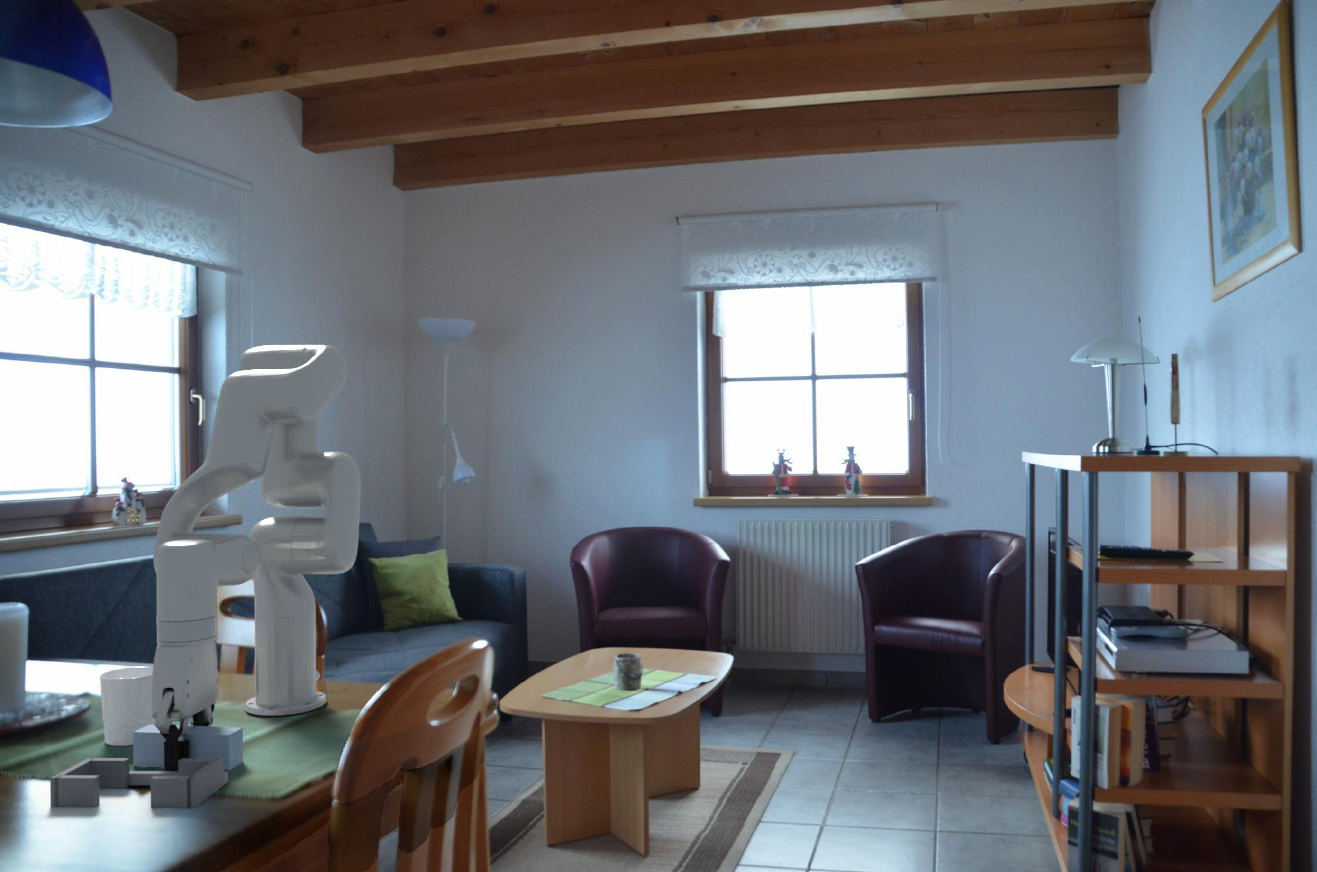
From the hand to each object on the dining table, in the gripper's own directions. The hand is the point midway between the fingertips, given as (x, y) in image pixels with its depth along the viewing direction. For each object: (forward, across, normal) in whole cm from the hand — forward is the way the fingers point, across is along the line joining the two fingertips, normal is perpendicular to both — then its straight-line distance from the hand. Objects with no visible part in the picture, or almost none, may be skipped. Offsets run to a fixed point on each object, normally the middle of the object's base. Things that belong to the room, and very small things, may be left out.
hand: (188, 760), depth 137 cm
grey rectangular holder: (0, +12, 0) cm, 12 cm away
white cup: (+1, -11, -14) cm, 18 cm away
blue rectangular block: (+1, 0, 0) cm, 1 cm away
